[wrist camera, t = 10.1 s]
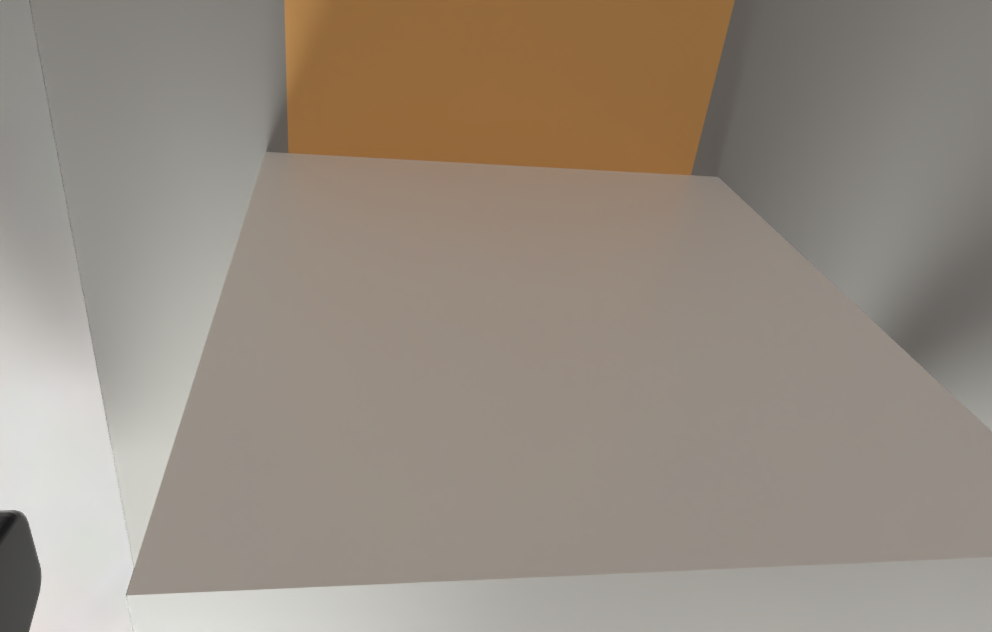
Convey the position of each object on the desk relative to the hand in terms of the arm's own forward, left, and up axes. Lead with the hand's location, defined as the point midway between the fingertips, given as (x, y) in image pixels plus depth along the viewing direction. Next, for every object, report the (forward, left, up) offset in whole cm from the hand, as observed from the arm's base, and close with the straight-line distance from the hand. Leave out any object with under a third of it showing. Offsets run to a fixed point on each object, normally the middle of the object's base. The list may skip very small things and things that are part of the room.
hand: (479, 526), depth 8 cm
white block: (0, 0, -1) cm, 1 cm away
